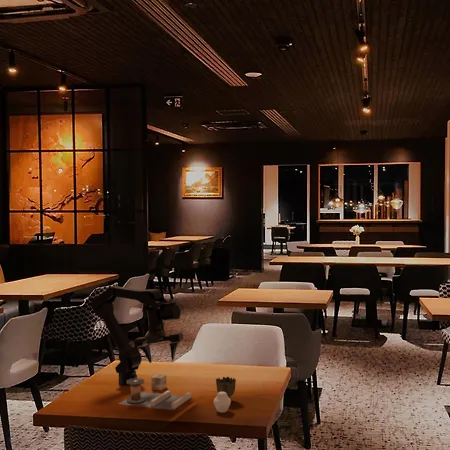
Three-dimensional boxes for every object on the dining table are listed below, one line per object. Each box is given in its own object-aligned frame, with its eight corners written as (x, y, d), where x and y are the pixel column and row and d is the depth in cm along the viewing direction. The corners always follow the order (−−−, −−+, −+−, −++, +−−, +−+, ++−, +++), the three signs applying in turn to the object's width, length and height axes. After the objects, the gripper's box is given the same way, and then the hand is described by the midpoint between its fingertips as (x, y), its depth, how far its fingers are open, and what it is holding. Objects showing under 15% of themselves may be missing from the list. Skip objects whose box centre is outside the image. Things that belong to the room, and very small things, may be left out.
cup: (221, 404, 233) (221, 382, 233) (212, 399, 240) (212, 378, 239) (239, 401, 237) (239, 380, 236) (230, 396, 243) (230, 375, 243)
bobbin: (123, 402, 232) (123, 381, 232) (132, 397, 238) (132, 377, 238) (139, 404, 230) (139, 383, 230) (147, 399, 236) (147, 378, 236)
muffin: (233, 412, 224) (233, 392, 223) (216, 414, 222) (216, 394, 222) (228, 407, 230) (227, 388, 229) (211, 409, 228) (211, 389, 228)
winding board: (118, 407, 231) (117, 398, 231) (139, 394, 246) (139, 387, 246) (173, 413, 223) (173, 404, 223) (191, 400, 238) (191, 392, 238)
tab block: (151, 392, 249) (151, 377, 249) (157, 389, 254) (157, 374, 254) (160, 393, 248) (160, 378, 248) (166, 390, 253) (166, 375, 252)
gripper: (125, 327, 245) (131, 368, 244) (172, 321, 241) (178, 363, 240) (136, 323, 256) (142, 362, 255) (180, 317, 252) (186, 357, 251)
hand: (161, 361), depth 250 cm, fingers open, 9 cm apart
